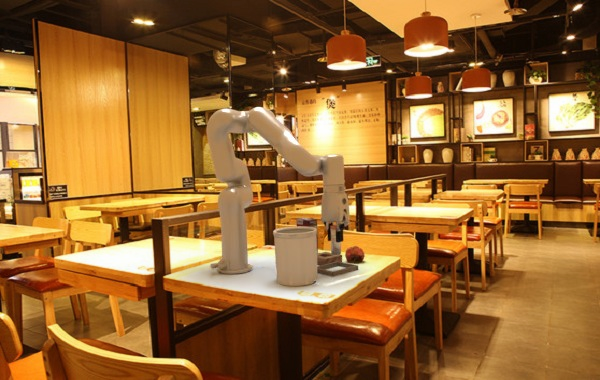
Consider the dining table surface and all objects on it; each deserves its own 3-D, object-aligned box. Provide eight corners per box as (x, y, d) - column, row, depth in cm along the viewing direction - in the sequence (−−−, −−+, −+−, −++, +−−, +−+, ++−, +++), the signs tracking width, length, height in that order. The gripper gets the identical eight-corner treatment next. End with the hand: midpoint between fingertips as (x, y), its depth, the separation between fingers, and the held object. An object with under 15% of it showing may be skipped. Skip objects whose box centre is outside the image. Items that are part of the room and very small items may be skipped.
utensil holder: (272, 287, 144) (270, 233, 143) (277, 275, 159) (275, 226, 157) (318, 286, 143) (316, 232, 142) (318, 274, 158) (317, 225, 157)
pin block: (325, 269, 165) (325, 258, 165) (309, 265, 172) (308, 255, 171) (342, 265, 171) (342, 254, 170) (325, 261, 178) (325, 251, 177)
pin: (336, 255, 156) (335, 226, 155) (329, 254, 159) (328, 225, 158) (342, 253, 158) (341, 225, 158) (336, 252, 161) (334, 224, 160)
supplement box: (296, 255, 191) (295, 218, 190) (305, 253, 194) (304, 217, 193) (310, 258, 184) (309, 220, 183) (318, 256, 188) (317, 219, 186)
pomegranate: (365, 271, 169) (367, 251, 176) (360, 259, 164) (363, 239, 172) (346, 272, 172) (349, 252, 179) (341, 260, 167) (344, 240, 174)
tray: (332, 279, 151) (332, 272, 151) (312, 274, 158) (312, 267, 158) (358, 272, 160) (358, 265, 159) (338, 267, 167) (337, 261, 167)
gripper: (358, 189, 153) (360, 242, 154) (324, 188, 166) (326, 237, 167) (343, 191, 148) (345, 245, 149) (310, 189, 161) (311, 240, 162)
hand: (335, 240), depth 158 cm, fingers closed on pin, 3 cm apart
